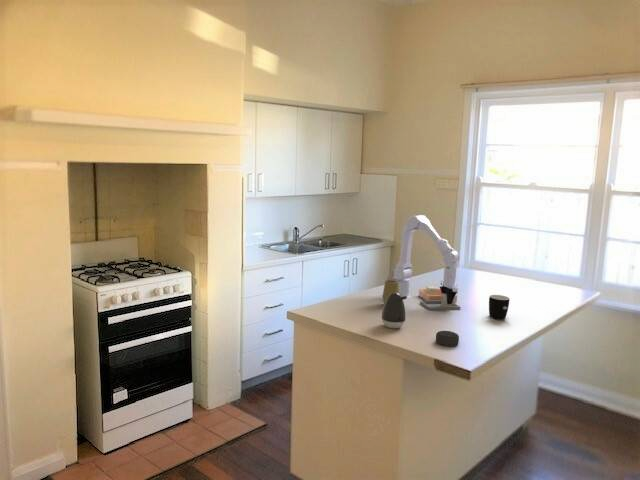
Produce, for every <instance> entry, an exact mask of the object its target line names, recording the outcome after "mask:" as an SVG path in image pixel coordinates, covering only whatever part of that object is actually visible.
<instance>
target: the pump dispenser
mask: <svg viewBox="0 0 640 480" xmlns="http://www.w3.org/2000/svg"><path fill="white" fill-rule="evenodd" d="M407 299H408V297H407V296H404V297H401V295H400V294H399V293H397V292H393V293H391V294H390V295H389V296H388V298H387V300H386V302H385V304H384V303H383V308H382V312H381V320H382V323H383V324H384V326H385V327H387V328H388V329H395V330H396V329H399V328H401V327H403V325H404V323H405V322H406V319H407V317H406V314H407V313H406V307H405V303H404V300H407Z"/></svg>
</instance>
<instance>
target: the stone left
mask: <svg viewBox="0 0 640 480" xmlns="http://www.w3.org/2000/svg"><path fill="white" fill-rule="evenodd" d="M425 289H426V293H427V294H428V295H430V296H431V295H437V293H438V289H439V288H438V287H436V286H430V285H429V286H426V288H425Z"/></svg>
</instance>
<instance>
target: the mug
mask: <svg viewBox="0 0 640 480" xmlns="http://www.w3.org/2000/svg"><path fill="white" fill-rule="evenodd" d="M488 297H489V298H488V314H489V317H490V318H492V319H493V320H495V321H496V320H497V321H504V320H505V319H506V317H507V315H508V311H509V308H510V307H509V305H510V301H511V300H510V299H511V298H510V297H509V296H506V295H502V294H491V295H489V296H488Z"/></svg>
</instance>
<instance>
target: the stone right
mask: <svg viewBox="0 0 640 480" xmlns="http://www.w3.org/2000/svg"><path fill="white" fill-rule="evenodd" d="M453 303H455V302H454V299H453V302H452V304H447V294H446V293H442V299H441V306H443V307H453Z"/></svg>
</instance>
